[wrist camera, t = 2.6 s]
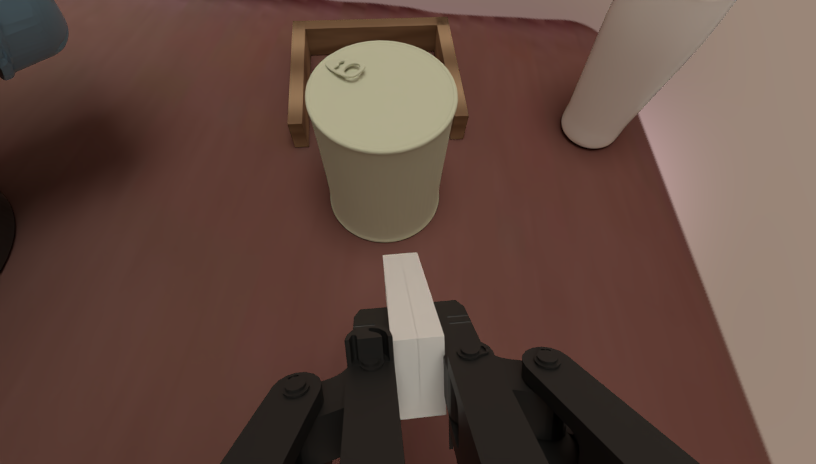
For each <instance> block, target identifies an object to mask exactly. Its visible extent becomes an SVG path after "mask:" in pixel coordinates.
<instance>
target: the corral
mask: <svg viewBox="0 0 816 464" xmlns="http://www.w3.org/2000/svg"><path fill="white" fill-rule="evenodd" d="M377 40H384V41H396V42H401V43H406V44H409V45H413V46H415V47H418V48H420V49H422V50H425V51H434V52H435V57H436V58H437V59H438V60H439V61H440V62H442V63H443V64H444V66H445V67H446V68H447V69H448V70H449V72H450V73H451V75H452V77H453V79H454V81H455V84H456V87H457V93H458V104H457V109H456V112H455V115H454V117H453V121H452V126H451V131H450V139H463V137H464V133H465V129H466V125H467V120H468V116H469V115H468V110H467V106H466V101H465V96H464V92H463V87H462V83H461V78H460V73H459V69H458V64H457V59H456V55H455V50H454V46H453V41H452V36H451V32H450V27H449V23H448V18H447V17H428V18H392V19H357V20H321V21H293V30H292V49H291V67H290V86H289V105H288V127H289V130H290V133H291V136H292V139H293V142H294V145H295V147H309V115H308V112H307V109H306V104H305V90H306V85H307V82H308V80H309V77H310V66H311V55H330V54H332V53H334V52H335V51H337V50H339V49H341V48H344V47H346V46H349V45H352V44H356V43H360V42H366V41H377Z"/></svg>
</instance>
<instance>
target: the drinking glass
mask: <svg viewBox="0 0 816 464" xmlns="http://www.w3.org/2000/svg"><path fill="white" fill-rule="evenodd" d="M735 1H736V0H613V2H612V3H611V6H610V7H609V10H608V12H607V14H606V16H605V19H604V21H603V23H602V26H601V28H600V30H599V33H598V35H597V38H596V40H595V42H594V45H593V47H592V50H591V52H590V54H589V57H588V59H587V62H586V64H585V66H584V69H583V71H582V74H581V76H580V78H579V81H578V83H577V85H576V88H575V90H574V92H573V95H572V97H571V99H570V102H569V103H568V105H567V107H566V109H565V111H564V113H563V115H562V119H561V125H562V129H563V131H564V133H565V134H566V136H567V137H568V138H569V139H570V140H571V141H572V142H574V143H575V144H577V145H579V146H582V147H585V148H591V149H597V148H603V147H606V146H608V145H610V144H611V143H612V142H613V141H614V140H615V139H616V138H617V137H618V136H619V134H620V133H621V132H622V130H623V129H624V128H625V127H626V126H627V125H628V124H629V122H630V121H631V120H632V119H633V118H634V117H635V116H636V115H637V114H638V113H639V112H640V111H641V109H642V108H643V107H644V106H645V105H646V104H647V103H648V102H649V101H650V100H651V99H652V97H654V96H655V95H656V93H657V92H658V91H659V90H660V89H661V88H662V87H663V86H664V85H665V84H666V83H667V82H668V81H669V80H670V79H671V78H672V76H673V75H674V74H675V73H676V72H677V71H678V70H679V69H680V68H681V67H682V66H683V65H684V64H685V63H686V62H687V60H688V59H689V58H690V57H691V56H692V55H693V54H694V53H695V52H696V50H697V49H698V48H699V47H700V46H701V45H702V44H703V43H704V41H705V40H706V39H707V38H708V36H709V35H710V34H711V33H712V32H713V30H714V29H715V28H716V27H717V25H718V24H719V23H720V22H721V20H722V19H723V18H724V16H725V15H726V14H727V12H728V11H729V10H730V8H731V7H732V6H733V4H734V3H735Z"/></svg>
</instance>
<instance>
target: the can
mask: <svg viewBox="0 0 816 464" xmlns="http://www.w3.org/2000/svg"><path fill="white" fill-rule="evenodd" d="M305 104H306V109H307V112H308V115H309V117H310V119H311V122H312V125H313V129H314V132H315V136H316V139H317V143H318V147H319V150H320V154H321V158H322V162H323V165H324V169H325V173H326V177H327V181H328V185H329V189H330V200H331V206H332V209H333V212H334V214H335V216H336V218H337V219H338V221H339V222H340V223H341V224H342V225H343V226H344V227H345V228H346V229H347V230H348V231H350V232H351V233H353V234H354V235H356V236H358V237H360V238H363V239H366V240H369V241H373V242H395V241H400V240H403V239H406V238H409V237H411V236H413V235H415V234H417V233H418V232H419V231H421V230H422V229H423V228H424V227H425V226H426V225H427V224H428V223H429V222H430V221H431V219H432V218H433V216H434V214H435V212H436V210H437V206H438V202H439V186H440V180H441V175H442V169H443V164H444V159H445V155H446V150H447V145H448V140H449V135H450V131H451V126H452V121H453V117H454V115H455V112H456V109H457V104H458V93H457V87H456V84H455V81H454V79H453V77H452V75H451V73H450V72H449V70H448V69H447V68H446V67H445V66H444V64H443V63H442V62H440V61H439V60H438V59H437V58H436V57H434V56H433V55H431V54H430V53H428V52H426V51H425V50H422V49H420V48H418V47H415V46H413V45H409V44H406V43H401V42H396V41H384V40H377V41H366V42H360V43H356V44H352V45H349V46H346V47H344V48H341V49H339V50H337V51H335V52H334V53H332V54H330V55H329V56H327V57H326V58H325V59H324V60H322V61H321V62H320V63H319V65H318V66H317V67H316V68H315V69H314V71H313V72H312V74H311V75H310V77H309V80H308V82H307V85H306V90H305Z"/></svg>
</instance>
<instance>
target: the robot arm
mask: <svg viewBox="0 0 816 464" xmlns="http://www.w3.org/2000/svg"><path fill="white" fill-rule="evenodd" d="M67 40H68V26H67V23H66V20H65V18H64V17H63V15H62V13H61V11H60V9H59V8H58V6H57V4H56V3H55V1H54V0H0V77H1V78H2V79H3V80H9V79H11V78H13V77H14V75H15V72H17V71H19V70H22V69H24V68H26V67H28V66H31V65H33V64H35V63H38V62H40V61H42V60H45V59H47V58H49V57H52V56H54V55H56V54H57V53H59V52H60V51H61V50H62V49H63V48H64V47H65V45H66V43H67ZM14 229H15V222H14V215H13V211H12V208H11V206H10V204H9V202H8V200H7V199H6V198H5V196H4V195H3V194H2V193H1V192H0V270H1V269H2V267H3V265H4V263H5V261H6V259H7V257H8V254H9V252H10V249H11V246H12V242H13V238H14ZM383 265H384V278H385V292H386V305H387V307H385V308H374V309H363V310H360V311H359V312H358V313H357V314H356V316H355V317H354V324H353V331H351V332H350V333H349V334H348V335H347V336H346V338H345V348H346V357H347V369H346V370H344V371H343V372H342V373H341V374H339V375H337V376H335V377H333V378H330V379H328V380H325V381H322V382H321V381H320V378H319V377H318V376H316V375H315V374H312V373H307V372H301V373H294V374H291V375H288V376H286V377H284V378H282V379H281V380H279V381H278V382H277V383H276V384H275V385H274V386H273V387H272V388H271V390H270V391H269V393H268V394H267V396H266V397H265V399H264V400H263V402H262V403H261V404H260V406H259V407H258V409H257V410H256V412H255V413H254V415H253V416H252V418H251V419H250V421H249V422H248V424H247V425H246V427H245V428H244V429H243V431H242V432H241V434H240V435H239V437H238V438H237V440H236V441H235V443H234V444H233V446H232V447H231V449H230V450H229V452H228V453H227V454H226V456H225V457H224V459H223V460H222V462H221V463H220V464H332V460H334V459H337V458H339V457H340V464H405V460H404V450H403V441H402V431H401V421H400V420H403V419H412V418H421V417H430V416H439V415H446V405H447V409H448V413H449V449H453V446H454V451H455V455H456V459H457V463H458V464H699V463H698V462H697V461H696V460H695V459H693V458H692V457H691V456H690V455H688V454H687V453H686V452H685V451H683V450H682V449H681V448H680V447H679V446H677V445H676V444H675V443H674V442H672V441H671V440H670V439H669V438H668V437H666V436H665V435H664V434H663V433H661V432H660V431H659V430H658V429H657V428H655V427H654V426H653V425H652V424H650V423H649V422H648V421H647V420H645V419H644V418H643V417H642V416H641V415H639V414H638V413H637V412H636V411H634V410H633V409H632V408H631V407H630V406H628V405H627V404H626V403H625V402H623V401H622V400H621V399H620V398H618V397H617V396H616V395H615V394H614V393H612V392H611V391H610V390H609V389H607V388H606V387H605V386H604V385H603V384H601V383H600V382H599V381H598V380H596V379H595V378H594V377H593V376H591V375H590V374H589V373H588V372H587V371H585V370H584V369H583V368H582V367H580V366H579V365H578V364H577V363H576V362H574V361H573V360H572V359H571V358H569V357H568V356H567V355H565V354H564V353H562V352H560V351H558V350H555V349H552V348H547V347H536V348H531V349H529V350H527V351H525V353H524V354H523V355H522V361H520V360H511V359H505V358H500V357H497V356H495V355H494V353H493V351H492V350H491V348H490V347H489V346H487V345H486V344H484V343H482V342H480V339H479V337H478V335H477V333H476V331H475V329H474V327H473V325H472V323H471V320H470V318H469V316H468V314H467V312H466V310H465V308H464V306H463V305H461V304H460V303H458V302H457V301H456V300H451V301H440V302H433V300H432V297H431V294H430V291H429V288H428V284H427V281H426V278H425V275H424V272H423V269H422V266H421V263H420V260H419V257H418V254H417V252H416V253H404V254H391V255H383Z"/></svg>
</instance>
